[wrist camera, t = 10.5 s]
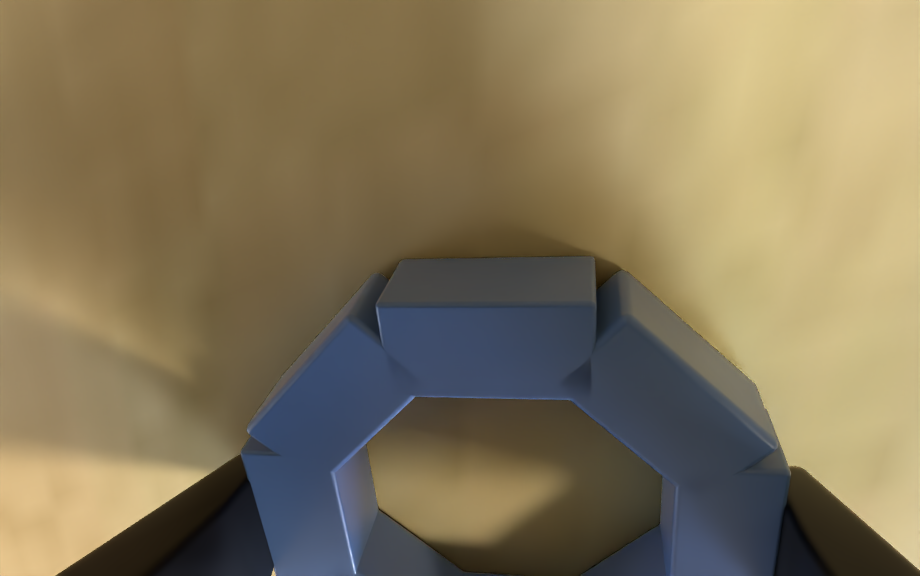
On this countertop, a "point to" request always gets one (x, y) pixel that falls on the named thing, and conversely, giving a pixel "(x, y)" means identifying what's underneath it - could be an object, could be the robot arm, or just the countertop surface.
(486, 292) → the ring
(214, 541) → the robot arm
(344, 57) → the countertop surface
